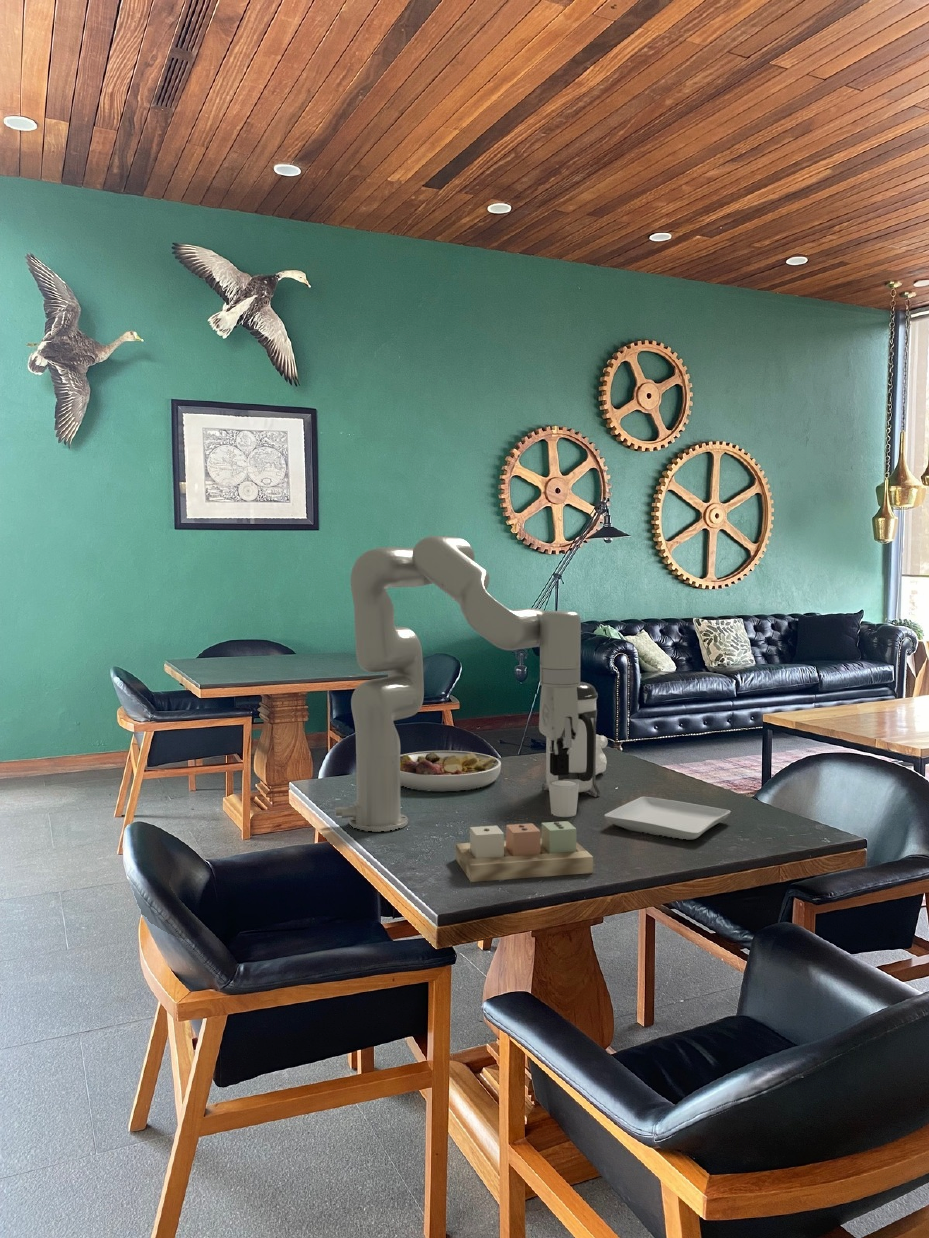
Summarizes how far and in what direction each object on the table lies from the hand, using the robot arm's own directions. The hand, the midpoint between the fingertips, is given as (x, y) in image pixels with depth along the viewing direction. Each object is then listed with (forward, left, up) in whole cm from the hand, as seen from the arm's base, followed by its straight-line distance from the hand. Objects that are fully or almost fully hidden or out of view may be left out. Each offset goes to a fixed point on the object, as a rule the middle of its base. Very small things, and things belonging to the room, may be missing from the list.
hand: (559, 774), depth 175 cm
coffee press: (+20, +49, -17) cm, 56 cm away
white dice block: (-14, 0, -15) cm, 20 cm away
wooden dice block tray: (-7, 0, -17) cm, 18 cm away
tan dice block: (-7, 0, -15) cm, 16 cm away
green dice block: (0, 0, -15) cm, 15 cm away
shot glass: (+12, +33, -17) cm, 39 cm away
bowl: (-8, +70, -18) cm, 73 cm away
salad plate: (+31, +19, -18) cm, 40 cm away
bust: (+33, +70, -17) cm, 79 cm away
